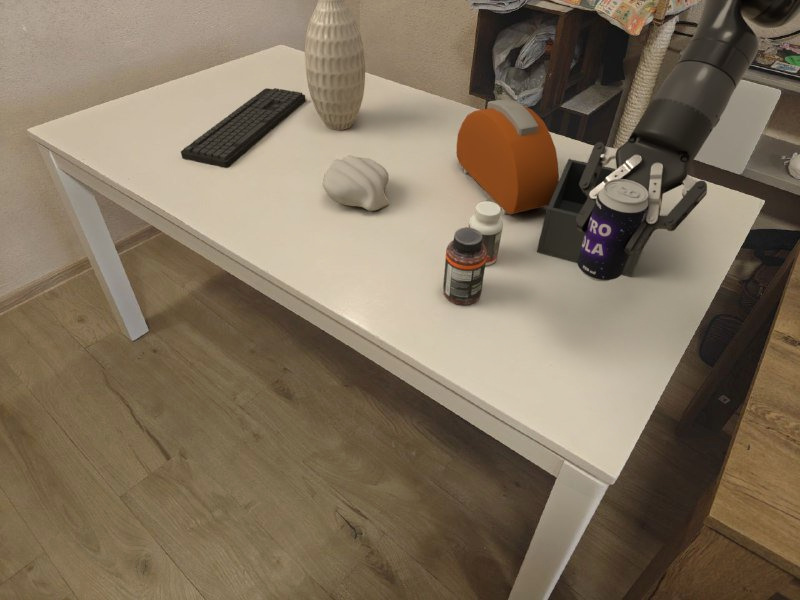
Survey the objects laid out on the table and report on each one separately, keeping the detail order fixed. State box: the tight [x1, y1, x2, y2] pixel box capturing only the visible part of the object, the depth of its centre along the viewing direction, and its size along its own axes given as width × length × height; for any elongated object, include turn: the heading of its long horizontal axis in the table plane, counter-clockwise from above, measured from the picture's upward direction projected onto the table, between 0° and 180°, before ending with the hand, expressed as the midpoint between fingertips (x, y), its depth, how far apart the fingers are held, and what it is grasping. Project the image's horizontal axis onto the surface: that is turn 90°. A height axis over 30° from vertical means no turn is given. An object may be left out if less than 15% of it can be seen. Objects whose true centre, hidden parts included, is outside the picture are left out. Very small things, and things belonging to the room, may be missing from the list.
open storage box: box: [536, 158, 647, 278], centre depth 93 cm, size 16×18×9 cm
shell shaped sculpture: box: [322, 154, 390, 212], centre depth 102 cm, size 13×13×6 cm
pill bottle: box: [468, 200, 504, 267], centre depth 88 cm, size 5×5×10 cm
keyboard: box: [180, 87, 307, 169], centre depth 124 cm, size 35×11×2 cm, turn 160°
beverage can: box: [576, 179, 649, 282], centre depth 66 cm, size 6×6×12 cm
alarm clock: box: [456, 98, 560, 215], centre depth 101 cm, size 23×9×17 cm, turn 22°
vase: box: [304, 0, 366, 131], centre depth 117 cm, size 13×13×28 cm
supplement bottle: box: [442, 227, 487, 306], centre depth 81 cm, size 6×6×11 cm
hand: (603, 240), depth 65 cm, fingers closed on beverage can, 5 cm apart
